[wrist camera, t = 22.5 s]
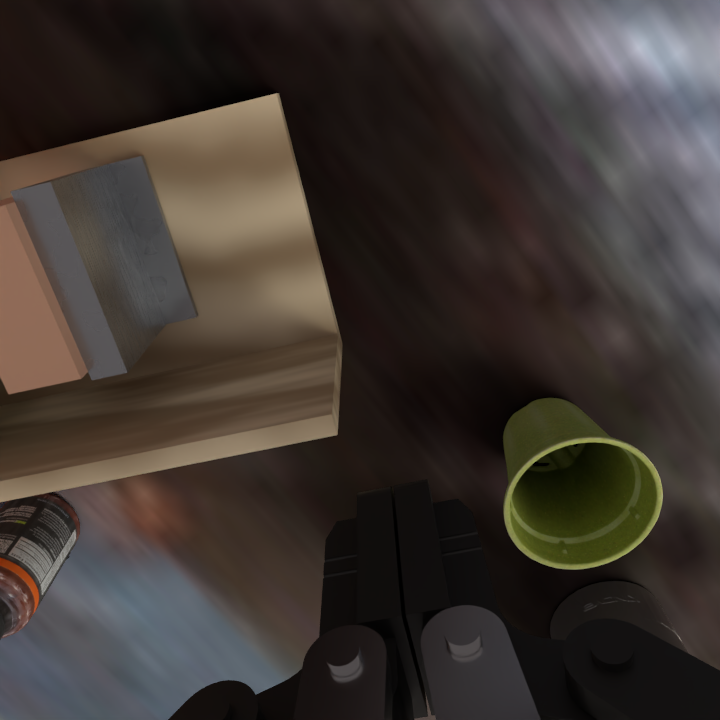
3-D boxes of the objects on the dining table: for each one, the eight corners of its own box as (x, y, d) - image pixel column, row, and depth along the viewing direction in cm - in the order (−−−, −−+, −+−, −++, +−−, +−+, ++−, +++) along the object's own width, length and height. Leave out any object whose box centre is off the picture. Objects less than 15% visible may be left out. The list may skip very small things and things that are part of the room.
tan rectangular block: (82, 179, 37) (4, 205, 29) (136, 319, 41) (81, 378, 33) (19, 194, 38) (-76, 224, 30) (78, 332, 41) (8, 394, 33)
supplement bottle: (30, 559, 50) (-56, 684, 40) (-12, 500, 48) (-115, 615, 37) (97, 538, 49) (28, 659, 39) (58, 477, 47) (-27, 588, 37)
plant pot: (470, 485, 48) (493, 566, 40) (488, 370, 44) (518, 433, 36) (593, 492, 48) (641, 573, 40) (622, 378, 44) (681, 443, 36)
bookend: (198, 314, 41) (163, 364, 33) (139, 327, 41) (91, 380, 34) (143, 155, 37) (90, 172, 30) (78, 171, 37) (10, 191, 30)
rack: (342, 344, 43) (337, 434, 32) (-3, 417, 45) (-122, 526, 34) (278, 92, 37) (244, 95, 26) (-117, 190, 39) (-310, 232, 28)
